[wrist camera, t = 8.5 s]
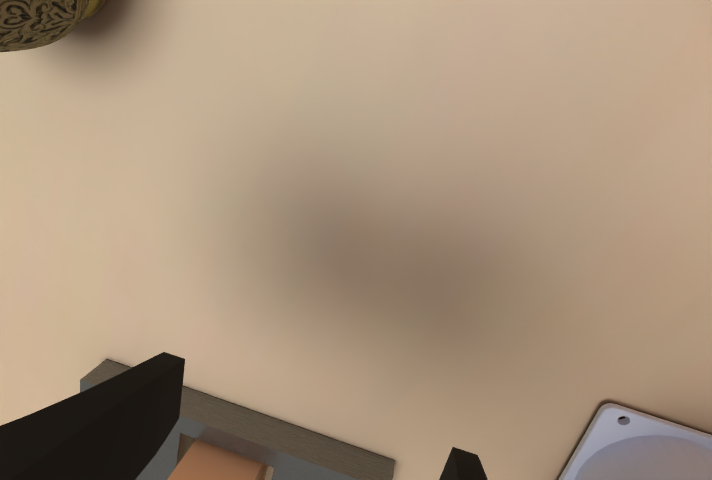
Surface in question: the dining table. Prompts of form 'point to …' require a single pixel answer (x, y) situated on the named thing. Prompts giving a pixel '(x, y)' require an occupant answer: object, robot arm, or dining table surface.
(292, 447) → the grey square hole board
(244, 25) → the dining table surface
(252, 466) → the square peg
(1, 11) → the cup
